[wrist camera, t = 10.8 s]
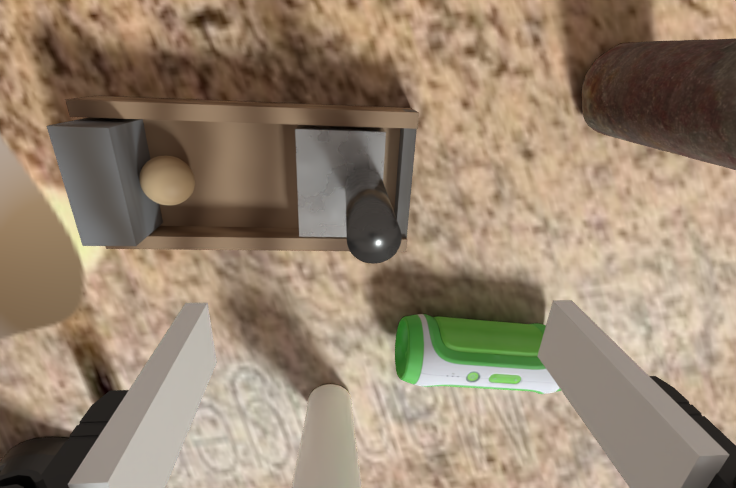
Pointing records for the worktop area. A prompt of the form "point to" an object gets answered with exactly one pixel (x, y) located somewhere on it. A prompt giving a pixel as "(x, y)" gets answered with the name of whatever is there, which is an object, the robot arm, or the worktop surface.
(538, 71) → the worktop surface
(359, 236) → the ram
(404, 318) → the speaker
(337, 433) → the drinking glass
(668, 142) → the candle
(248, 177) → the base
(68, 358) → the worktop surface
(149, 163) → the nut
